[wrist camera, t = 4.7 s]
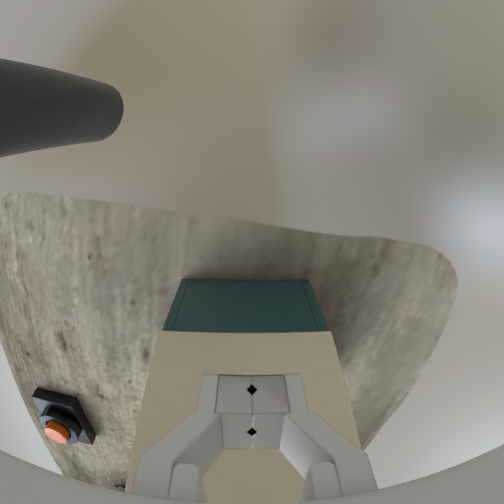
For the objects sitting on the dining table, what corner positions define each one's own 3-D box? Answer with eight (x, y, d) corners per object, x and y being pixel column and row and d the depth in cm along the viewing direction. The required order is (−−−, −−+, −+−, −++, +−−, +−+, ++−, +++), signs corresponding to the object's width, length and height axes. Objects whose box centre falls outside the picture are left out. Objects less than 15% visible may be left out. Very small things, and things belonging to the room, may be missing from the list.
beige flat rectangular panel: (373, 538, 10) (379, 536, 9) (122, 540, 9) (116, 539, 9) (329, 338, 23) (331, 330, 22) (161, 337, 22) (159, 330, 22)
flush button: (44, 417, 35) (40, 425, 34) (64, 423, 35) (60, 431, 34) (54, 433, 37) (50, 440, 35) (73, 438, 37) (70, 446, 35)
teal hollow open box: (295, 384, 36) (305, 440, 28) (193, 384, 36) (184, 440, 28) (308, 279, 31) (329, 330, 23) (181, 279, 31) (161, 330, 23)
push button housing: (37, 387, 37) (26, 404, 34) (76, 397, 38) (67, 415, 34) (58, 426, 41) (51, 442, 37) (96, 435, 41) (89, 452, 38)
